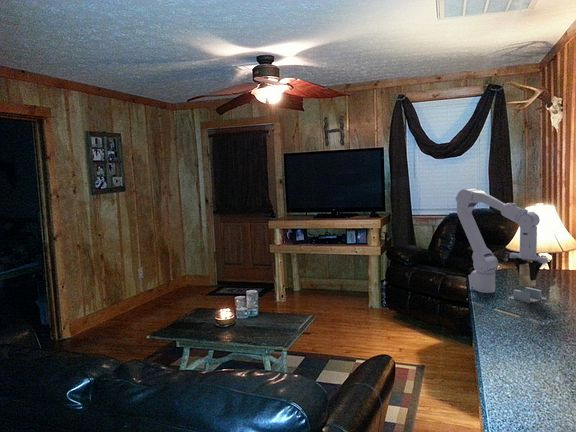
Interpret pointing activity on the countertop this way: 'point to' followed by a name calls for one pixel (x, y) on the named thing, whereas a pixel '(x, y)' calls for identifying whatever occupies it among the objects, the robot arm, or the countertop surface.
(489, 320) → the countertop surface
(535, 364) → the countertop surface
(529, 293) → the vise
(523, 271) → the peg
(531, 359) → the countertop surface
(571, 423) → the countertop surface
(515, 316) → the mat
